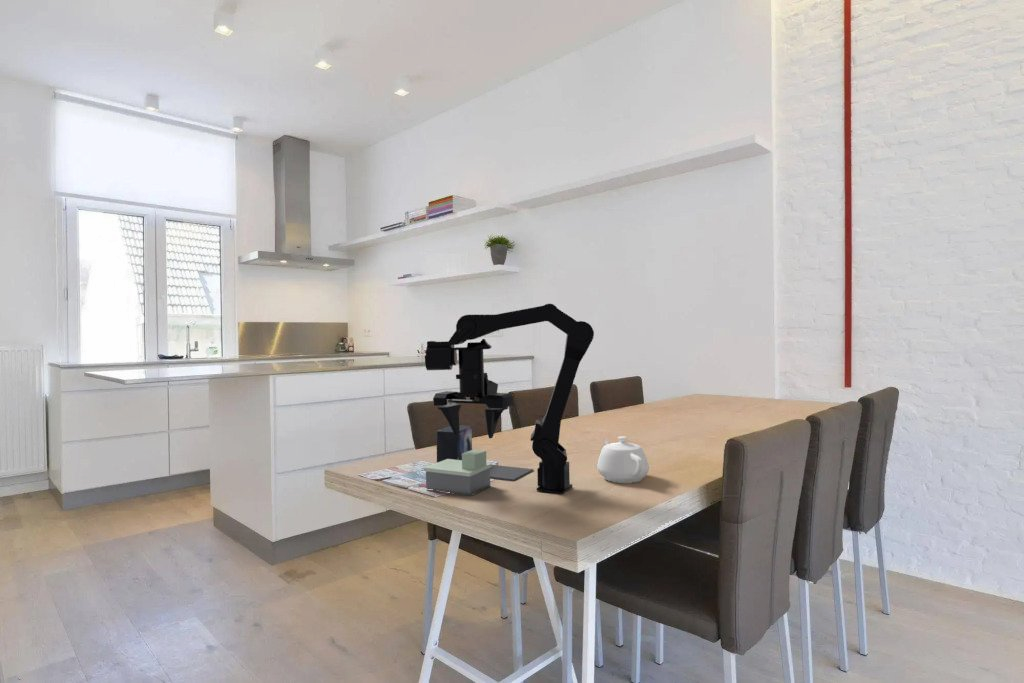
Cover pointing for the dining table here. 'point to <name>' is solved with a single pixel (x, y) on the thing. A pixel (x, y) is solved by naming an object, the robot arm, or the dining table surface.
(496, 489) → the dining table surface
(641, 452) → the teapot
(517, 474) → the mat
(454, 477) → the tub
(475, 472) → the lid
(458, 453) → the small box
